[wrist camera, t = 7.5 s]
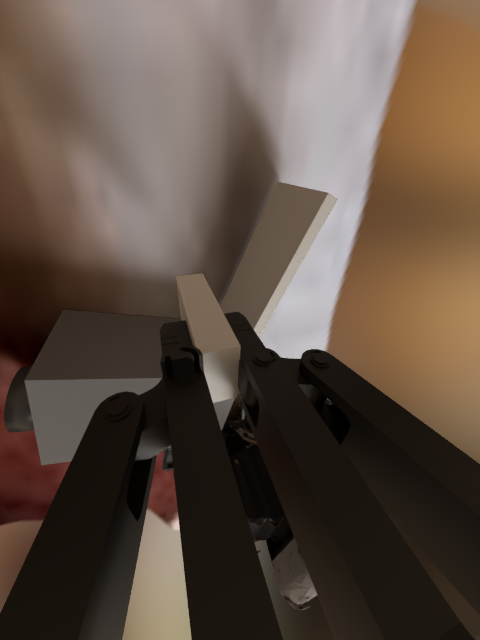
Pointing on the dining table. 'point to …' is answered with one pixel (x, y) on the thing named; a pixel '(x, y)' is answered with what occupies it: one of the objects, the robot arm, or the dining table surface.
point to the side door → (276, 251)
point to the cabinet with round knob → (85, 377)
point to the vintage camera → (264, 512)
